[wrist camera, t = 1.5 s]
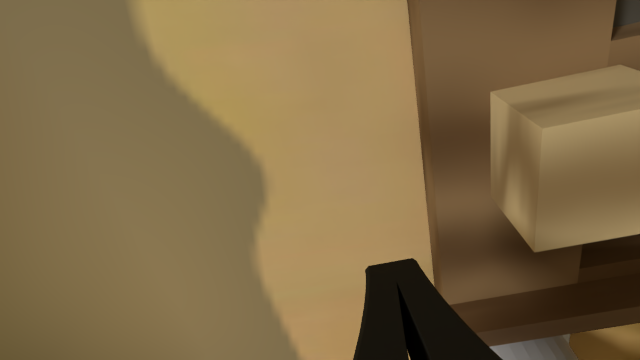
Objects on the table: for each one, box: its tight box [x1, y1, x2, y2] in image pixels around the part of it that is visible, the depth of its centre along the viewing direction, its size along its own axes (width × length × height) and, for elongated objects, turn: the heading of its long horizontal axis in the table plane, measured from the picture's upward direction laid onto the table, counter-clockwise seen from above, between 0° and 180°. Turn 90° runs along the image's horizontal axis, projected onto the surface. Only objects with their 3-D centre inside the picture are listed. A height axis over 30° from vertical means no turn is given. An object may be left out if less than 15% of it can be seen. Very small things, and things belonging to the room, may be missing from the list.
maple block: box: [490, 65, 640, 252], centre depth 15 cm, size 5×5×4 cm
